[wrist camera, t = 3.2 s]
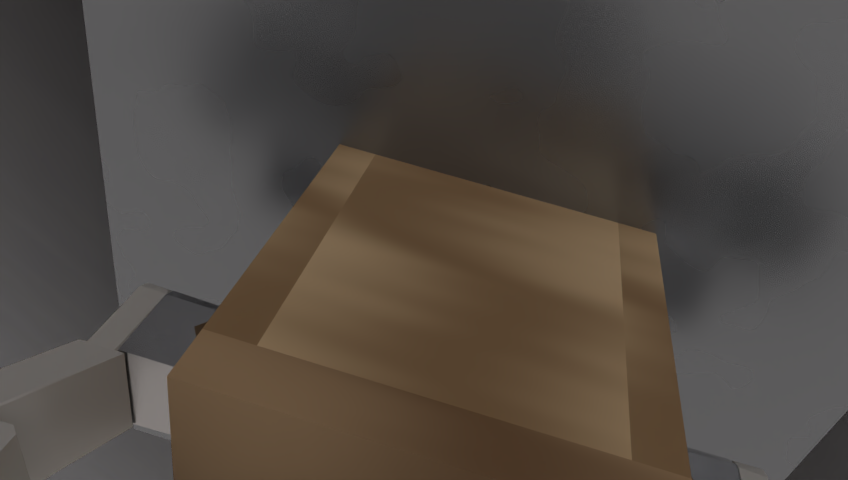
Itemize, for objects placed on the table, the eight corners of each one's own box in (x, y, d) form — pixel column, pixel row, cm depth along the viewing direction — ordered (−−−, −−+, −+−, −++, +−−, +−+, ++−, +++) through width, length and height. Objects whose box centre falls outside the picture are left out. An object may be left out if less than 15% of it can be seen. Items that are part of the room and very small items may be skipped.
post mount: (161, 391, 20) (22, 579, 15) (114, -244, 11) (-292, -283, 6) (668, 550, 19) (695, 807, 14) (1113, 4, 10) (1648, 214, 5)
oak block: (311, 362, 15) (182, 617, 11) (339, 144, 12) (166, 376, 7) (554, 436, 15) (535, 736, 10) (656, 233, 12) (700, 543, 7)
